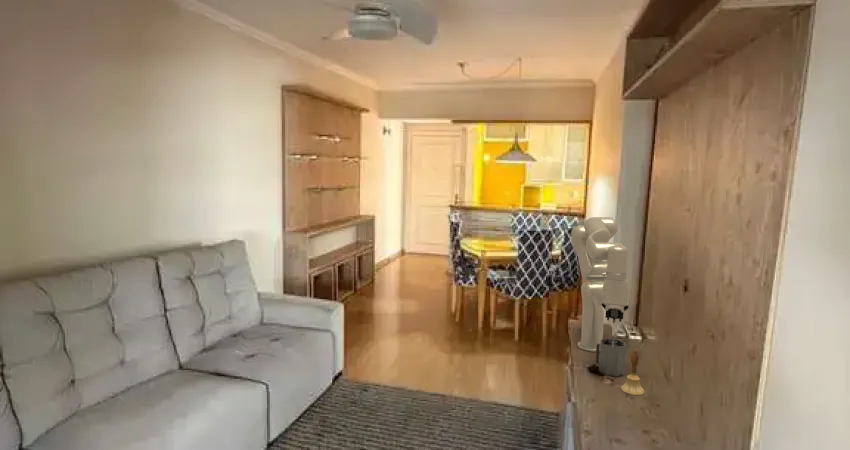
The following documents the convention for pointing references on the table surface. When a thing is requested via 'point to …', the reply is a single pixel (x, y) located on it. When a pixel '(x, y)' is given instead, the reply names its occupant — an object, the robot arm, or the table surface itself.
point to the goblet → (613, 314)
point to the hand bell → (633, 378)
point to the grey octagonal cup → (611, 358)
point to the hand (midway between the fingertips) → (614, 319)
